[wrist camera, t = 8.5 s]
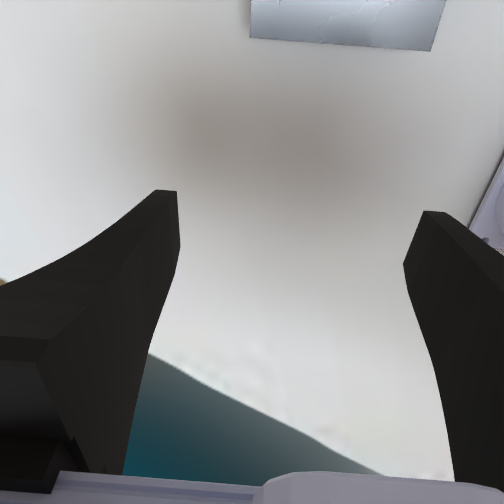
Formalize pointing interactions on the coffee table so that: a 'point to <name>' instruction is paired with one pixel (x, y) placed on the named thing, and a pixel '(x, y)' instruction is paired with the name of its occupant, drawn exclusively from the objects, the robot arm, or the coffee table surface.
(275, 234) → the coffee table surface
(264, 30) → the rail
